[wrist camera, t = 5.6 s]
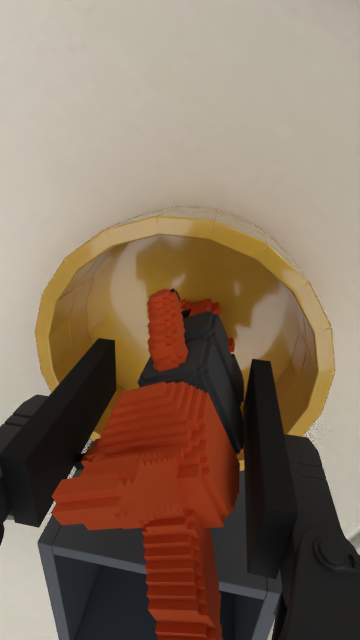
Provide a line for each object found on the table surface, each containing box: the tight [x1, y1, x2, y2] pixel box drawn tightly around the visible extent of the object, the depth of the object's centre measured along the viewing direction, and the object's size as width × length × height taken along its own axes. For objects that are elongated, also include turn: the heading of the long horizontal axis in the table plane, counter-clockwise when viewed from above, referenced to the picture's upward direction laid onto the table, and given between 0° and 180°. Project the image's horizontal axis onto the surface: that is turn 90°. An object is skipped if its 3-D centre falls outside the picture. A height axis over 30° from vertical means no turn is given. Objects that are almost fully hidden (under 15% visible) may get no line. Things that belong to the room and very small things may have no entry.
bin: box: [38, 440, 282, 640], centre depth 22 cm, size 13×13×8 cm
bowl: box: [35, 207, 335, 471], centre depth 16 cm, size 13×13×4 cm
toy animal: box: [51, 288, 244, 640], centre depth 12 cm, size 8×6×12 cm
